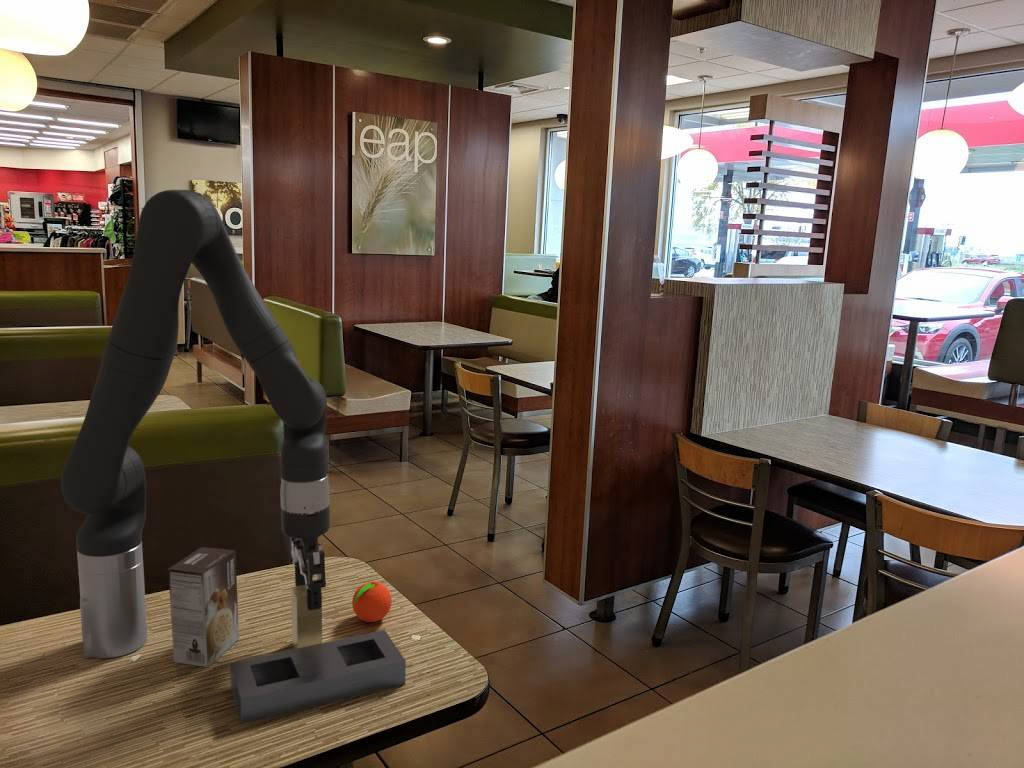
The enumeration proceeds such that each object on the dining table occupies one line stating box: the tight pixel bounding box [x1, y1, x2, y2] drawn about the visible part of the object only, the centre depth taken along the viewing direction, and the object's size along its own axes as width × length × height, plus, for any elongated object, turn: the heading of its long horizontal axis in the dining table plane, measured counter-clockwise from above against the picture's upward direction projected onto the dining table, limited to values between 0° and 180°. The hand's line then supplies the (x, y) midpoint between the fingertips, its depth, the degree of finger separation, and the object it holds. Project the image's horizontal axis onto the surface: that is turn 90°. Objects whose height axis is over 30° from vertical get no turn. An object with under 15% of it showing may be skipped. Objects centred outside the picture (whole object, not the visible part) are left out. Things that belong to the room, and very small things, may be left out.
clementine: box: [351, 581, 393, 623], centre depth 136 cm, size 8×7×7 cm
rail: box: [229, 629, 407, 725], centre depth 117 cm, size 24×10×4 cm, turn 118°
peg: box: [290, 585, 323, 649], centre depth 127 cm, size 4×4×10 cm
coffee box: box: [167, 546, 240, 668], centre depth 124 cm, size 9×6×16 cm
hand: (308, 597), depth 126 cm, fingers open, 8 cm apart
